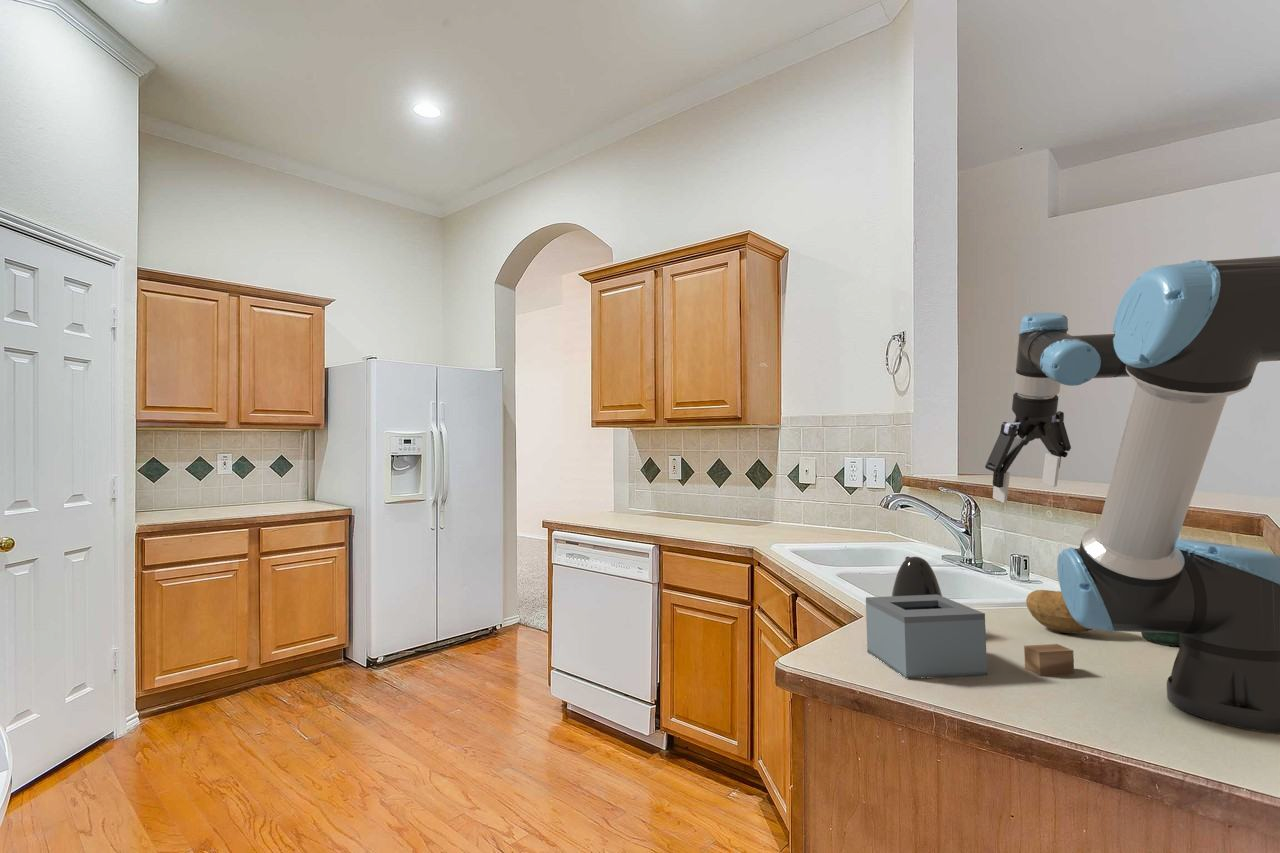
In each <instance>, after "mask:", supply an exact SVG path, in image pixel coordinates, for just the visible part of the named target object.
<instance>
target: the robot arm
mask: <svg viewBox="0 0 1280 853" xmlns="http://www.w3.org/2000/svg"><path fill="white" fill-rule="evenodd" d="M1068 321H1069V320H1068V317H1067V316H1066V314H1061V313H1057V312H1035V313H1030V314H1029V313H1028V314H1026V315H1025V316H1023V317H1022V318H1021V321H1020V326H1019V327H1020V328H1019V332H1018V343H1017V344H1018V345H1017V353H1016V354H1017V356H1016V364H1015V367H1016V368H1015V379H1014V380H1015V381H1014V386H1013V387H1014V388H1013V390H1014V392H1015V393H1013V394H1012V403H1011V404H1012V405H1011V411H1012V412H1013V413H1014V415H1015V419H1014V421H1013V422H1006V421H1003V422H1002V423H1001V427H1000V431H999V435H998V436H997V439H996V441H995V443H994V445H993V448H992V450H991V452H990V455H989V457H988V458H987V461H986V464H985V466H984V467H985V469H986V470H989V471H991V472H993V473H992V486H993V489H992V491H993V492H992V499H993V500H997V501H999V502H1000V503H1002V504H1005V503H1007V502H1008V495H1009V494H1008V493H1009V486H1010V485H1009V484H1010V474H1011V473H1010V472H1009V471H1008V470H1009V468H1010V467H1011V466H1012V464H1013V462H1014V461H1015V459H1016V458H1017V456H1018V455H1019V453H1020V452H1021V450H1022V449H1023V448H1024V447H1025V446H1027V445H1028V444H1029V442H1031V441H1033V440H1035V439H1040V441H1041V442H1042V444H1043V446H1045V448H1046V450H1047V451H1048V452H1047V453H1045V456H1044V462H1043V470H1042V478H1041V479H1042V480H1041V483H1043V484H1045V485H1048V486H1050V487H1053V488H1056V487H1057V486H1058V477H1059V471H1060V467H1061V463H1062V462H1061V461H1062V460H1061V459H1062V458H1067V456H1068V452H1070V451H1071V449H1072V446H1071V441H1070V438H1069V436H1068V431H1067V428H1066V425H1065V422H1064V421H1065V419H1064V418H1065V413H1064V411H1060V410H1058V405H1059V396H1058V395H1059V394H1060V393H1061V384H1062V385H1063V386H1064V385H1065V386H1070V387H1073V386H1074V387H1075V386H1080V385H1083V384H1085V383H1087V382H1090V381H1091V380H1093V379H1105V378H1106V379H1107V378H1121V377H1122V378H1125V377H1126V378H1129V377H1131V378H1132V380H1134V382H1135V383H1136V385H1135V390H1134V392H1133V396H1132V401H1131V404H1130V407H1129V411H1128V415H1127V419H1126V421H1125V427H1124V429H1123V433H1122V437H1121V442H1120V443H1119V444H1120V445H1119V449H1118V452H1117V456H1116V460H1115V463H1114V468H1113V472H1112V475H1111V479H1110V481H1109V485H1108V490H1107V493H1106V497H1105V501H1104V505H1103V507H1102V512H1101V517H1100V519H1099V523H1098V525H1094V526H1091V527H1089V528H1088V529H1087V530H1086V531H1084V533H1083V534H1082V538H1081V541H1080V545H1079V548H1074V547H1072V546H1071V547H1068V548H1064V549H1062V550H1060V552H1059V554H1058V556H1057V562H1056V564H1057V566H1056V568H1057V578H1058V584H1059V587H1060V591H1061V592H1062V596H1063V599H1064V601H1065V604H1066V606H1067V608H1068V610H1069V612H1070V614H1071V615H1072V617H1073V618H1074V620H1075V621H1076V622H1077V623H1078V624H1080V625H1081V626H1083V627H1085V628H1089V629H1093V630H1098V631H1106V632H1113V633H1114V632H1131V633H1134V632H1135V633H1141V632H1156V633H1180V645H1179V648H1178V651H1177V654H1176V656H1175V659H1174V662H1173V666H1172V669H1171V673H1170V674H1171V675H1169V676H1168V678H1167V680H1166V698H1167V700H1168V701H1169V702H1170V703H1171V704H1172V705H1174V706H1175V707H1177V708H1179V709H1180V710H1182V711H1185V712H1187V713H1189V714H1192V715H1194V716H1196V717H1199V718H1202V719H1204V720H1209V721H1211V722H1212V721H1213V722H1216V723H1219V724H1223V725H1226V726H1227V725H1228V726H1232V727H1235V728H1241V729H1246V730H1252V731H1260V732H1266V733H1275V734H1280V556H1279V555H1276V554H1274V553H1272V552H1269V551H1265V550H1261V549H1260V550H1259V549H1255V548H1248V547H1243V546H1239V545H1238V546H1237V545H1231V544H1225V543H1217V542H1209V541H1202V540H1194V539H1193V540H1192V539H1178V538H1179V537H1180V533H1181V530H1182V527H1183V524H1184V522H1185V519H1186V516H1187V513H1188V510H1189V507H1190V505H1191V501H1192V499H1193V496H1194V493H1195V490H1196V488H1197V484H1198V482H1199V479H1200V476H1201V473H1202V470H1203V467H1204V464H1205V461H1206V458H1207V456H1208V453H1209V450H1210V447H1211V444H1212V442H1213V439H1214V436H1215V433H1216V430H1217V426H1218V424H1219V421H1220V419H1221V415H1222V413H1223V410H1224V406H1225V403H1226V402H1227V398H1228V397H1230V396H1233V395H1235V394H1237V393H1240V392H1242V391H1245V390H1246V389H1247V388H1249V386H1250V384H1251V383H1252V381H1253V378H1254V374H1255V372H1256V369H1257V366H1258V364H1259V363H1263V362H1278V361H1279V362H1280V255H1276V256H1275V255H1273V256H1263V257H1262V256H1261V257H1246V258H1231V259H1218V260H1217V259H1216V260H1213V259H1212V260H1202V259H1195V260H1189V261H1184V262H1182V263H1173V264H1165V265H1159V266H1157V267H1152V268H1150V269H1149V270H1147V271H1145V272H1144V273H1143V274H1141V276H1139V277H1137V278H1135V280H1134V281H1133V282H1132V283H1131V284H1130V285H1129V287H1128V288H1127V289H1126V291H1125V292H1124V293H1123V295H1122V297H1121V299H1120V301H1119V304H1118V306H1117V309H1116V312H1115V315H1114V320H1113V324H1112V325H1113V326H1112V332H1113V333H1107V334H1106V333H1105V334H1104V333H1102V334H1084V335H1070V334H1069V333H1068V331H1069V326H1068V325H1069V322H1068Z"/></svg>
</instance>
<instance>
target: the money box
mask: <svg viewBox="0 0 1280 853" xmlns="http://www.w3.org/2000/svg"><path fill="white" fill-rule="evenodd" d="M865 613H866V614H865V617H866V641H867V642H866V647H867V648H866V649H867V650H866V651H867V653H868V652H869V653H868V654H870V655H871V654H872V655H871V656H873V657H874V656H875V657H876V659H877V658H878V659H879V661H880V660H881V661H882V662H881V661H880V662H881V663H883V662H884V663H885V664H884V663H883V664H884V665H886V664H887V665H888V666H889V667H888V666H887V665H886V666H887V667H888V668H890V667H891V668H892V669H891V668H890V669H891V670H893V669H894V670H895V671H894V670H893V671H894V672H896V673H897V672H898V673H900V674H901V675H902V677H903V676H904V677H905V678H904V677H903V678H904V679H906V678H917V679H922V678H921V677H925V678H924V679H930V677H935V678H947V677H948V678H950V676H953V677H968V676H967V675H969V677H970V676H985V675H986V676H987V675H988V662H987V661H988V660H987V659H988V658H987V634H986V633H987V632H986V613H985V612H982V611H979V610H977V609H974V608H972V607H969V606H967V605H964V604H962V603H960V602H957V601H955V600H952V599H950V598H946V597H944V596H943V595H942V596H940V595H937V594H936V595H912V596H892V595H891V596H889V595H888V596H871V597H869V596H866V597H865ZM875 657H874V658H875ZM878 659H877V660H878ZM898 673H897V674H898ZM900 674H899V675H900ZM901 675H900V676H901ZM927 677H929V678H927Z"/></svg>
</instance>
